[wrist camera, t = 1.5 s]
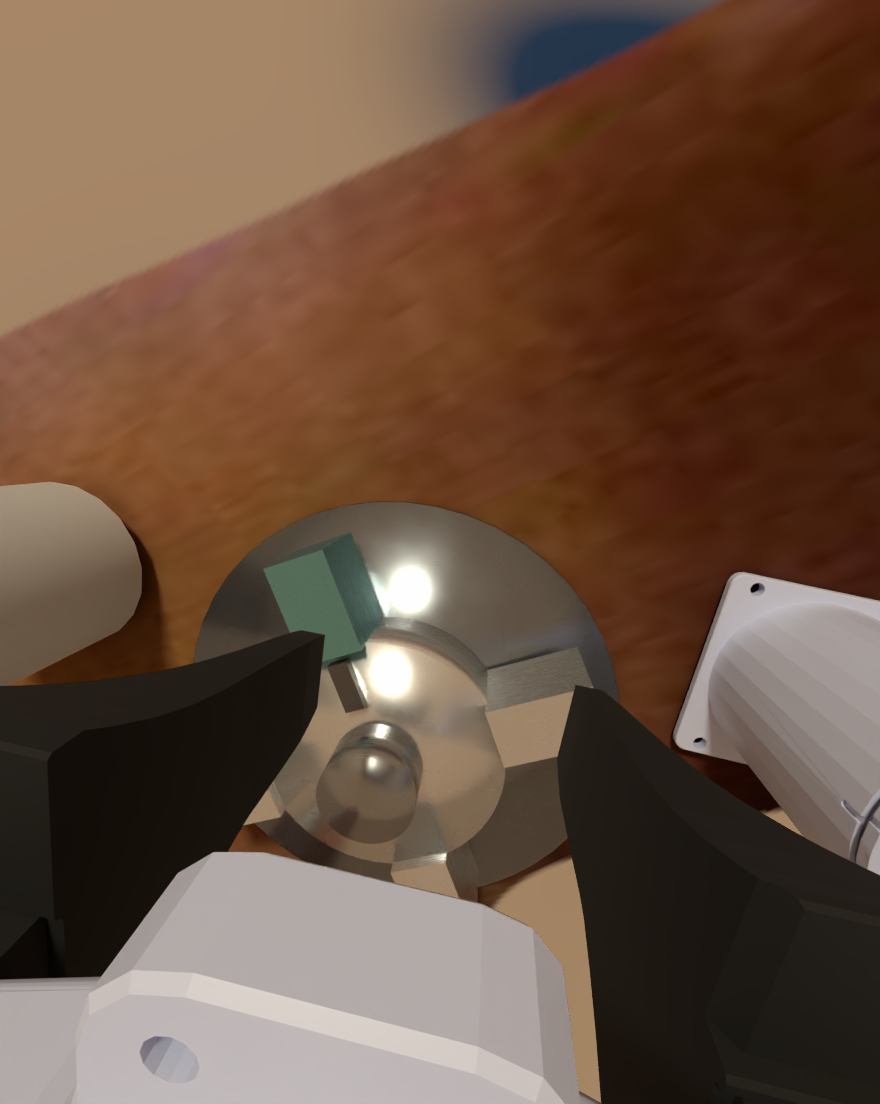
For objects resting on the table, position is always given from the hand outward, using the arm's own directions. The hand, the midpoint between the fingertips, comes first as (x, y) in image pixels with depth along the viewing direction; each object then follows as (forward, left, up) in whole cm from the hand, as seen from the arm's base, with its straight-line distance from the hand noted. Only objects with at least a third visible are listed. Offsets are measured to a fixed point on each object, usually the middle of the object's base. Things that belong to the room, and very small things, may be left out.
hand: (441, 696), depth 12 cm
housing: (+2, +7, -9) cm, 12 cm away
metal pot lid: (+2, +7, -9) cm, 12 cm away
